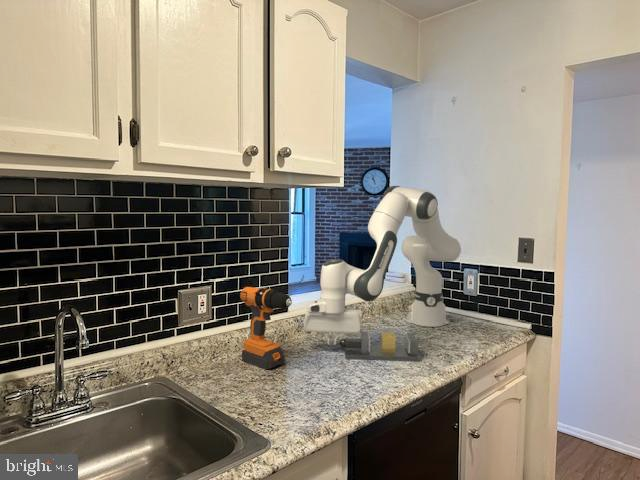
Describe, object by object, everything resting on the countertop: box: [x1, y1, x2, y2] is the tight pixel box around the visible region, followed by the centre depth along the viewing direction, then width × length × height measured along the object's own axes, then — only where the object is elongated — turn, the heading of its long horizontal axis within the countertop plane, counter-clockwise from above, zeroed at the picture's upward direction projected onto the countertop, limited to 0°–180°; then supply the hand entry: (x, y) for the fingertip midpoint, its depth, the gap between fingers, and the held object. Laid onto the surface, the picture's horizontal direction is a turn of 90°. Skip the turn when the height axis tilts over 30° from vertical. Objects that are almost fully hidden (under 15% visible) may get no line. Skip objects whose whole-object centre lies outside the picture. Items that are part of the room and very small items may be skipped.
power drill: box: [239, 286, 293, 371], centre depth 142 cm, size 22×7×25 cm, turn 50°
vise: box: [344, 332, 421, 362], centre depth 155 cm, size 12×25×6 cm, turn 87°
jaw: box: [339, 331, 371, 354], centre depth 155 cm, size 9×10×5 cm
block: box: [380, 331, 397, 353], centre depth 155 cm, size 4×4×6 cm
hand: (331, 344), depth 156 cm, fingers closed
